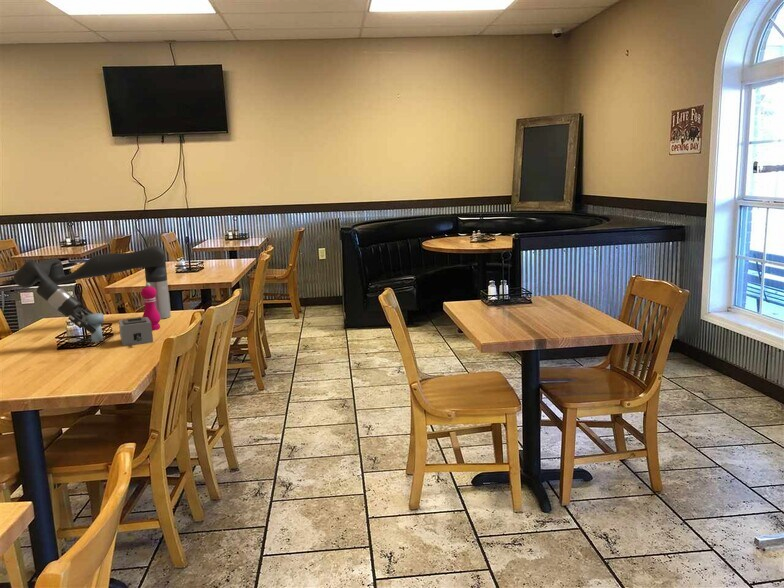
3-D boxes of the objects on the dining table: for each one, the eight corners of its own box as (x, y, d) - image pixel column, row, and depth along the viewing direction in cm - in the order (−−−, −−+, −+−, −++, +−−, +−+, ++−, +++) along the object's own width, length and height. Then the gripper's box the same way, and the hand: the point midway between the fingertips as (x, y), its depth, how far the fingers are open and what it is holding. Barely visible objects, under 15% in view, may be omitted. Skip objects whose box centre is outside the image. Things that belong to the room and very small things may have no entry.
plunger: (134, 337, 249) (133, 332, 248) (139, 336, 250) (138, 331, 249) (136, 342, 241) (135, 337, 241) (141, 341, 242) (141, 336, 242)
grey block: (120, 339, 253) (118, 319, 252) (149, 336, 258) (147, 315, 256) (123, 346, 244) (120, 324, 242) (153, 342, 249) (150, 320, 247)
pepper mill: (164, 326, 273) (159, 281, 270) (156, 331, 266) (151, 284, 262) (148, 326, 274) (143, 281, 270) (140, 331, 267) (135, 284, 263)
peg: (88, 342, 251) (85, 314, 249) (105, 339, 254) (102, 312, 252) (89, 345, 246) (85, 317, 244) (106, 343, 249) (103, 315, 246)
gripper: (64, 305, 252) (97, 331, 256) (50, 313, 239) (85, 340, 242) (77, 292, 252) (110, 318, 256) (63, 298, 238) (98, 326, 242)
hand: (98, 329), depth 249 cm, fingers open, 8 cm apart
